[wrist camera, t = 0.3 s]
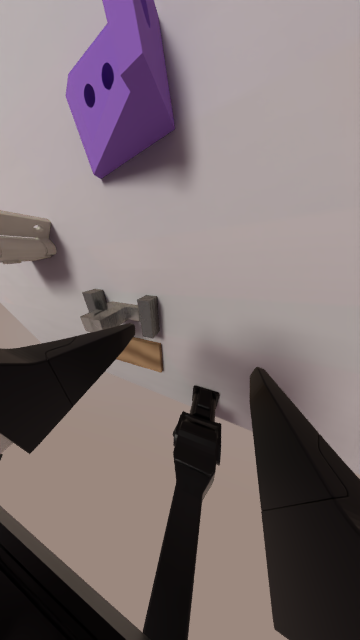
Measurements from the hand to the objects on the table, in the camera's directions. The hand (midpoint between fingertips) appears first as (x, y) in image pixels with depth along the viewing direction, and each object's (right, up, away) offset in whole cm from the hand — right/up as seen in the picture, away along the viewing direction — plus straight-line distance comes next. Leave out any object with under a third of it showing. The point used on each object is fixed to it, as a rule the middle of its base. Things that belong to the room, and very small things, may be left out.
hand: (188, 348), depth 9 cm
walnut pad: (-13, -6, +25) cm, 29 cm away
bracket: (-7, +27, +6) cm, 28 cm away
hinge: (-31, +19, +19) cm, 41 cm away
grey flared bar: (-13, +4, +20) cm, 24 cm away
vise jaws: (-13, +4, +20) cm, 24 cm away
